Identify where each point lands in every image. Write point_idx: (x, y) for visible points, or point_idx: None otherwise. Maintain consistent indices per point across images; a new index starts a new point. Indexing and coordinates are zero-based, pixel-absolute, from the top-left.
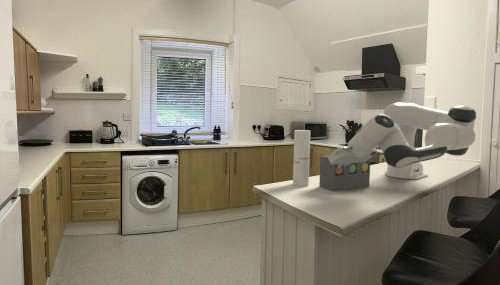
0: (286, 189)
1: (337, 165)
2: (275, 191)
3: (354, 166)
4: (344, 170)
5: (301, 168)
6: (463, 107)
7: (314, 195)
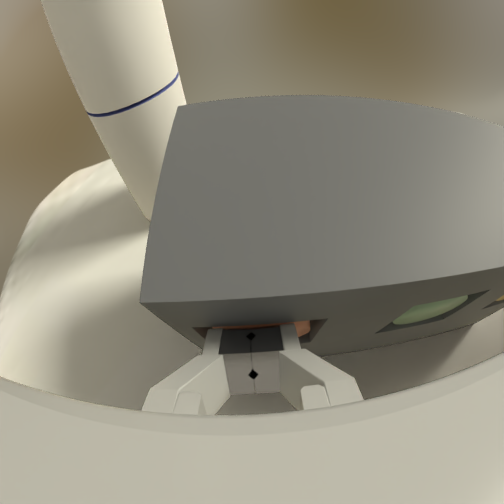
0: (74, 240)
1: (209, 336)
2: (35, 252)
3: (455, 302)
4: (328, 333)
5: (114, 158)
6: None
7: (85, 374)
